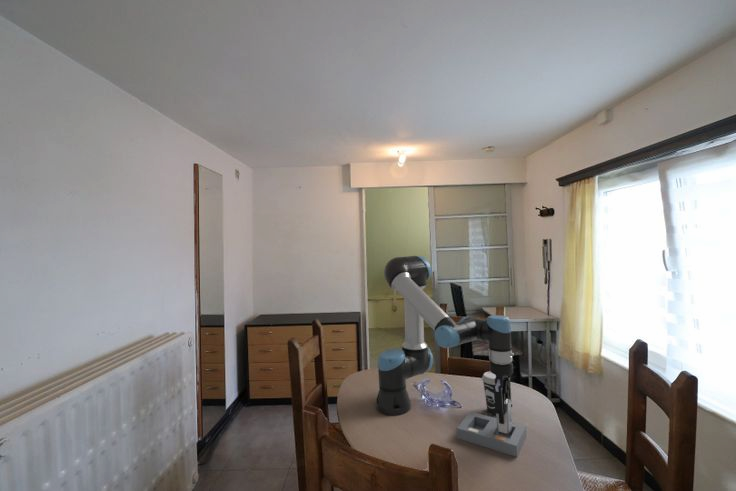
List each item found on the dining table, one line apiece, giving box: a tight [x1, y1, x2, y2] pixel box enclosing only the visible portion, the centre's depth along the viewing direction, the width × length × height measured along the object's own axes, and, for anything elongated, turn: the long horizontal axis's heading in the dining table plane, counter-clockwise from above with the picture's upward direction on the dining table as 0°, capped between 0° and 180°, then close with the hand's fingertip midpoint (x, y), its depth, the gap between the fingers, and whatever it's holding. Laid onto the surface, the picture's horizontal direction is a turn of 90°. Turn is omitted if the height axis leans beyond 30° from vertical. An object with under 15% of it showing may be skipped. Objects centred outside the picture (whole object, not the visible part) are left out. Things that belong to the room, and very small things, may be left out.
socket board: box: [456, 411, 528, 458], centre depth 118 cm, size 20×14×4 cm
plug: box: [495, 397, 513, 434], centre depth 115 cm, size 4×4×11 cm
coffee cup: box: [481, 370, 496, 416], centre depth 135 cm, size 10×10×15 cm
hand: (504, 428), depth 115 cm, fingers closed on plug, 4 cm apart
